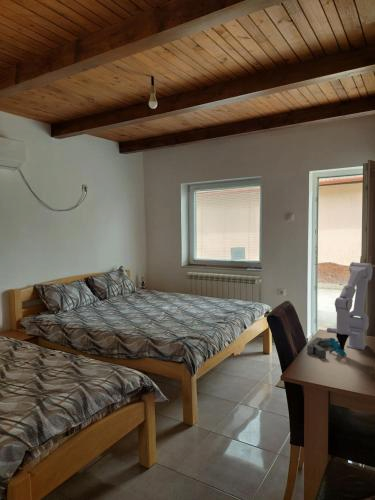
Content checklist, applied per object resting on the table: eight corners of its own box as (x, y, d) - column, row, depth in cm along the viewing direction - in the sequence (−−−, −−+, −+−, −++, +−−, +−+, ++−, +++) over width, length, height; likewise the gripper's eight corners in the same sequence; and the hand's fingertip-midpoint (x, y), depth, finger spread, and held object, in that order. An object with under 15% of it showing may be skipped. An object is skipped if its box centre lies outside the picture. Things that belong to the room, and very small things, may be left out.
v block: (318, 342, 191) (318, 335, 191) (336, 346, 186) (336, 338, 185) (304, 355, 173) (305, 347, 172) (324, 359, 167) (324, 351, 167)
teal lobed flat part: (341, 356, 167) (328, 337, 172) (332, 362, 170) (319, 344, 175) (350, 353, 175) (336, 335, 180) (341, 359, 178) (328, 342, 183)
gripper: (325, 321, 173) (324, 348, 174) (357, 326, 165) (356, 354, 166) (329, 318, 179) (328, 344, 180) (360, 322, 170) (359, 350, 171)
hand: (342, 349), depth 173 cm, fingers closed
